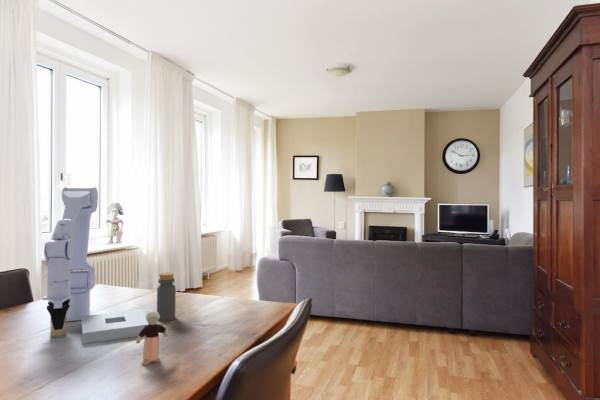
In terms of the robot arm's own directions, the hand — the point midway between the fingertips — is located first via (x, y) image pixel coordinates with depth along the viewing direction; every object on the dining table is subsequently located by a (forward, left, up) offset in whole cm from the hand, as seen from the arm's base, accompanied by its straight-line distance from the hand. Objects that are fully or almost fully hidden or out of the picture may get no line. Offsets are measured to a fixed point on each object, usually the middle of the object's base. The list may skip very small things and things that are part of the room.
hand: (58, 327), depth 119 cm
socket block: (+2, +15, -2) cm, 15 cm away
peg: (0, 0, -2) cm, 2 cm away
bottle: (-3, +31, -3) cm, 31 cm away
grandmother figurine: (+32, +21, -3) cm, 38 cm away
